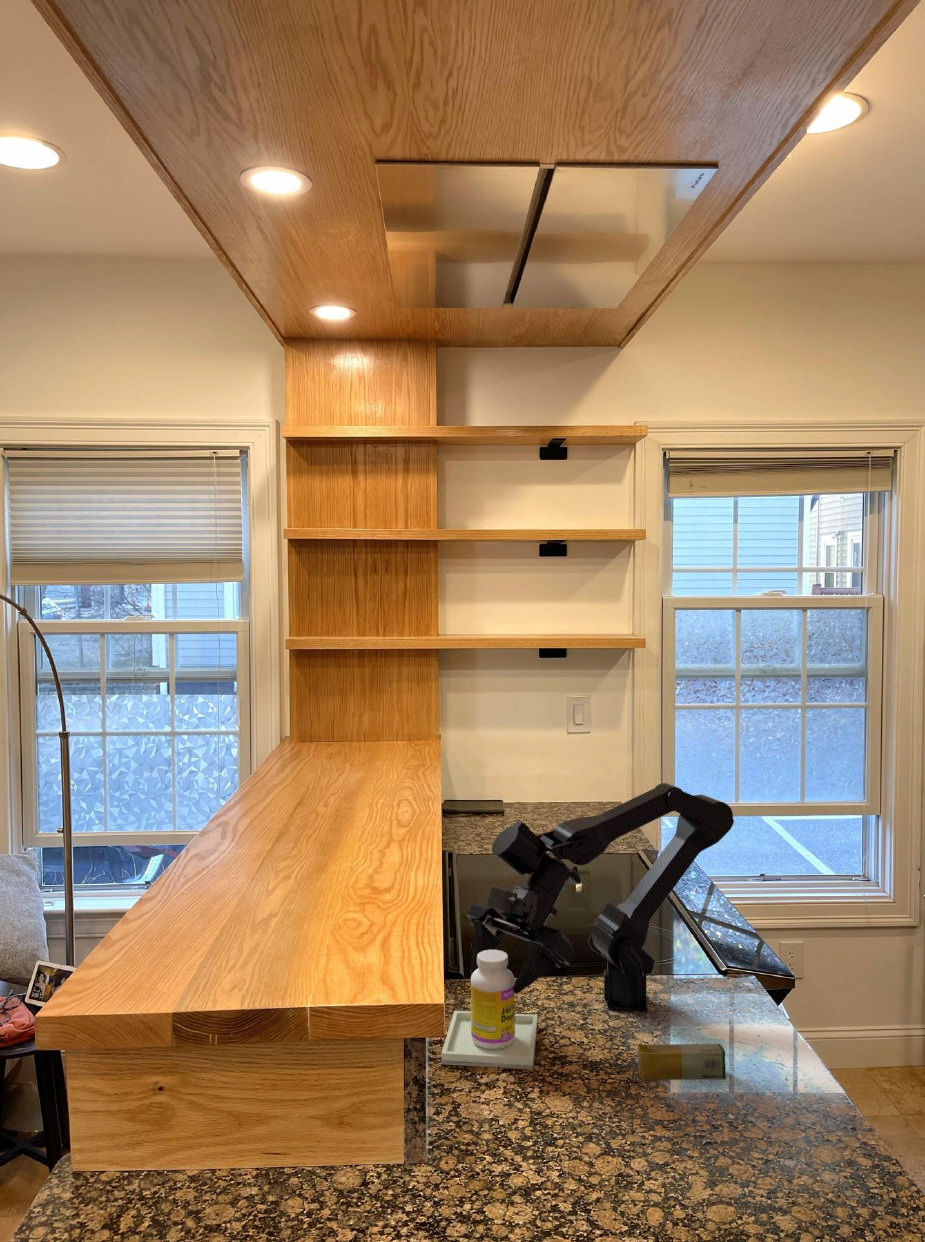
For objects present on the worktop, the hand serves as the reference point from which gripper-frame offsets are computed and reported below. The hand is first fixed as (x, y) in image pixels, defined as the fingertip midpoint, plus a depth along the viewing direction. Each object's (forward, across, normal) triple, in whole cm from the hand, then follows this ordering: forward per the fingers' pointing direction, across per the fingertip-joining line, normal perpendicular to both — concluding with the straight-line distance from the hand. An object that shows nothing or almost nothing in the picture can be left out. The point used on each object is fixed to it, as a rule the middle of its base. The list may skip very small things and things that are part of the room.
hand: (492, 982), depth 131 cm
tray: (+7, 0, +6) cm, 9 cm away
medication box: (-2, +24, +16) cm, 29 cm away
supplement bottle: (+6, 0, +6) cm, 9 cm away
